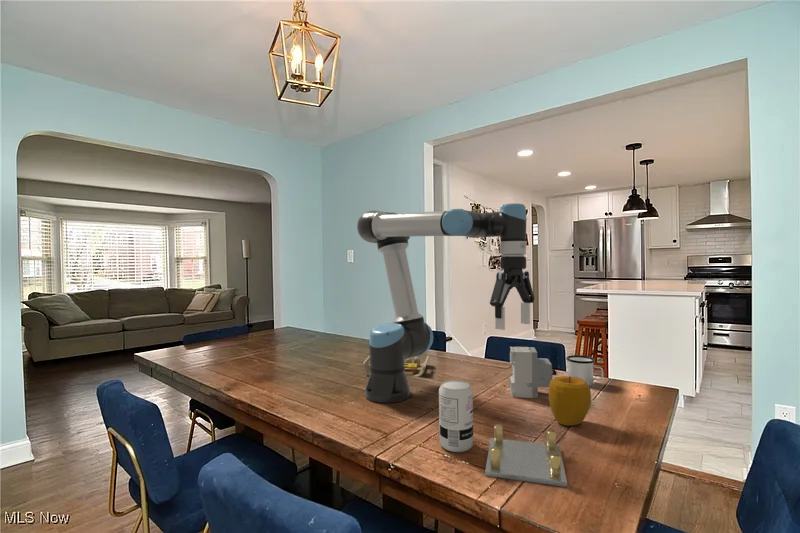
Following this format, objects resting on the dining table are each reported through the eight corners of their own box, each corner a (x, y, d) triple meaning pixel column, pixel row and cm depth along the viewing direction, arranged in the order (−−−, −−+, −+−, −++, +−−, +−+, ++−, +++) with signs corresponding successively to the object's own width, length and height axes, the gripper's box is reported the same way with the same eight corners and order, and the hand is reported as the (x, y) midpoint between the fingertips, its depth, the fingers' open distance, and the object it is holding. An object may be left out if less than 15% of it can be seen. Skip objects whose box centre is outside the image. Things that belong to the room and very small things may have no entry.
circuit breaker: (557, 399, 128) (557, 353, 128) (511, 396, 131) (511, 351, 131) (553, 391, 135) (553, 347, 135) (510, 389, 138) (509, 346, 138)
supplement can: (436, 438, 101) (435, 380, 101) (468, 437, 102) (467, 379, 102) (442, 454, 93) (441, 390, 93) (477, 452, 94) (476, 389, 94)
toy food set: (362, 376, 158) (362, 357, 158) (372, 364, 176) (371, 347, 176) (426, 378, 154) (425, 358, 154) (429, 365, 172) (428, 348, 172)
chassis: (485, 475, 84) (484, 452, 84) (490, 441, 99) (490, 422, 99) (567, 487, 79) (566, 462, 79) (559, 449, 94) (559, 429, 94)
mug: (563, 384, 143) (563, 359, 143) (569, 377, 150) (569, 354, 150) (600, 390, 136) (600, 364, 136) (604, 383, 144) (604, 358, 143)
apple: (588, 435, 102) (588, 385, 102) (544, 426, 108) (544, 379, 107) (593, 420, 111) (593, 374, 111) (553, 412, 117) (552, 369, 117)
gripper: (499, 256, 108) (499, 333, 109) (545, 255, 125) (545, 322, 125) (477, 256, 114) (477, 330, 114) (524, 255, 130) (524, 320, 131)
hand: (513, 326), depth 120 cm, fingers open, 13 cm apart
